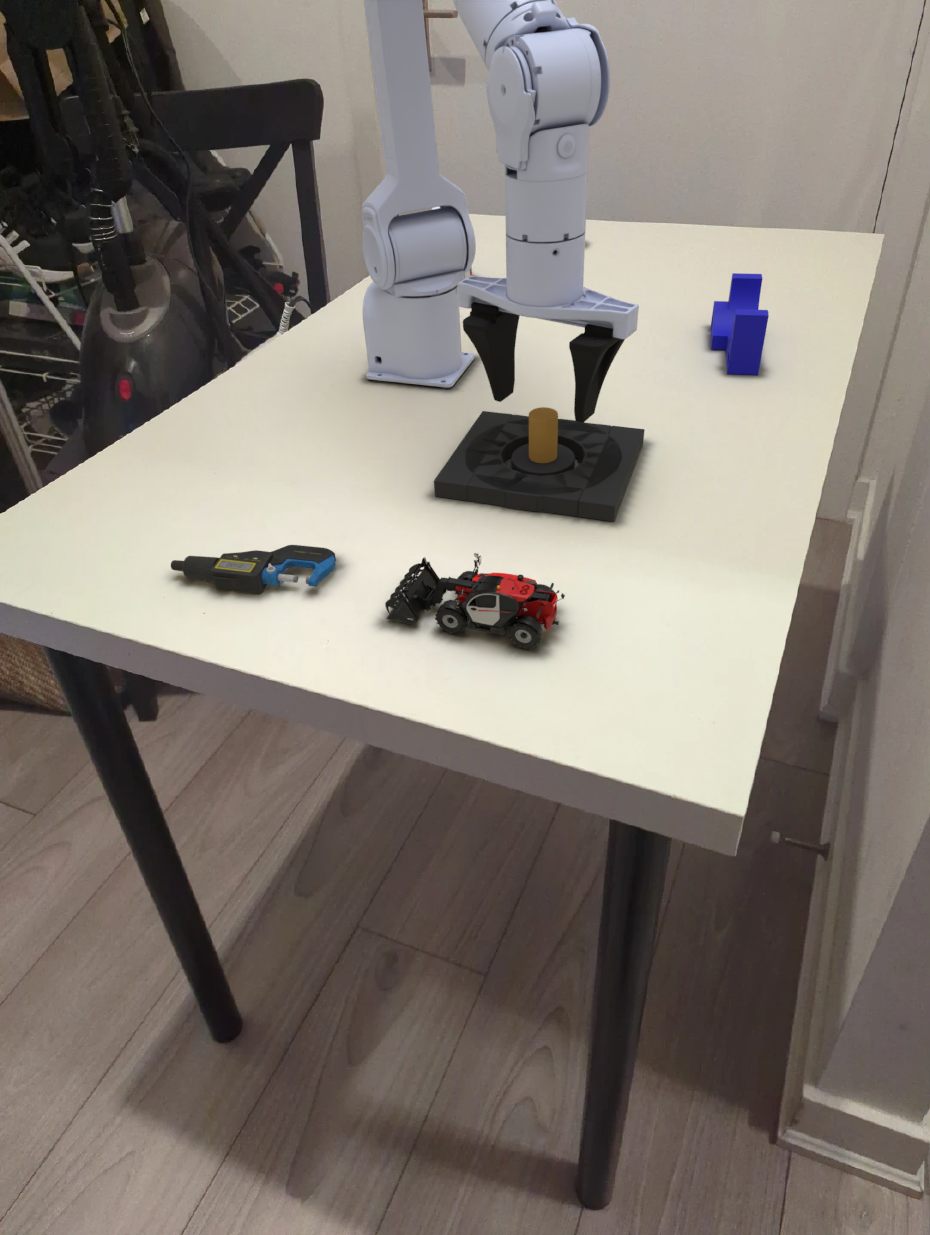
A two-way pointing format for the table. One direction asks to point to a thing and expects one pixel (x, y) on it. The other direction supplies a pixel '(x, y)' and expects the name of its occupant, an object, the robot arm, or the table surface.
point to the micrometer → (258, 567)
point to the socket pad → (570, 493)
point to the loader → (478, 602)
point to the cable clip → (740, 325)
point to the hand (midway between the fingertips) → (543, 406)
